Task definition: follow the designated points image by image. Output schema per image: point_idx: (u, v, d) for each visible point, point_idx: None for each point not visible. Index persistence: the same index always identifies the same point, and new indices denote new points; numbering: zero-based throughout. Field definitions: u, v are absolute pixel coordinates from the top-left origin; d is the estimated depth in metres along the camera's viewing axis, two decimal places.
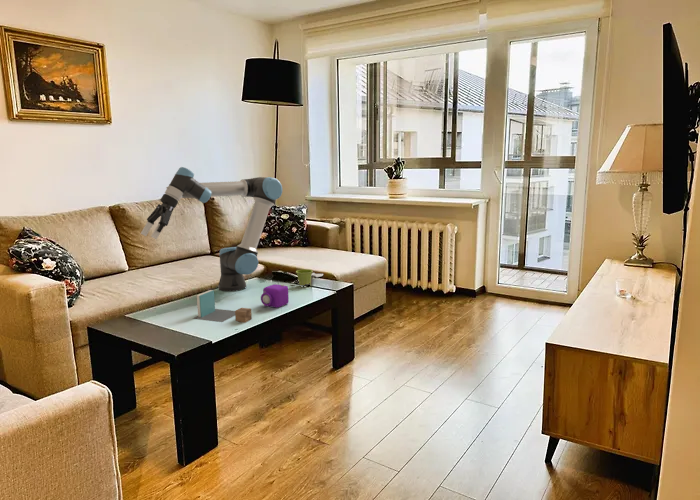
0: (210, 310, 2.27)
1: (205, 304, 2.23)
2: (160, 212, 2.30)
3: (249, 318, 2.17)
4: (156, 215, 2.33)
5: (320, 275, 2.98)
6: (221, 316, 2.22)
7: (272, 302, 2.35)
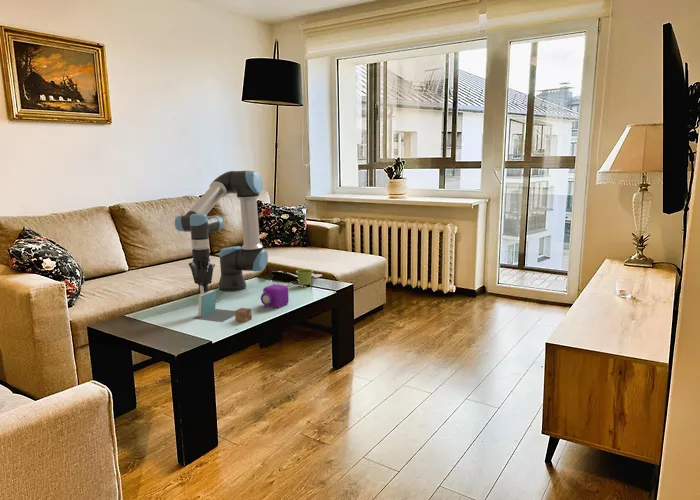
0: (211, 310, 2.27)
1: (206, 304, 2.23)
2: None
3: (249, 318, 2.17)
4: (200, 272, 2.23)
5: (319, 276, 2.97)
6: (221, 316, 2.22)
7: (272, 302, 2.35)
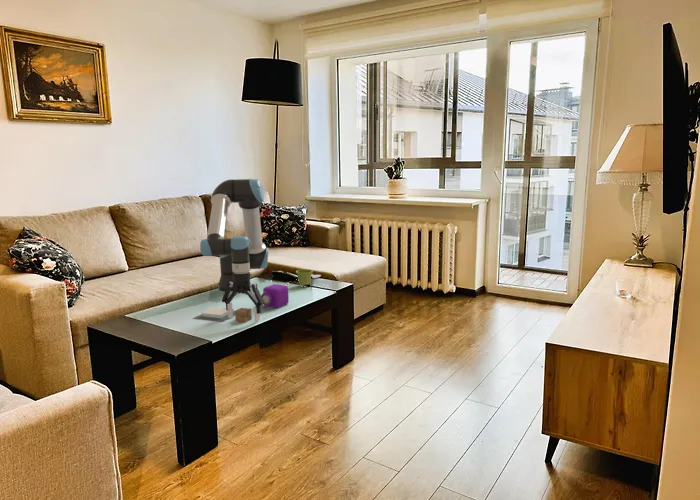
0: None
1: None
2: (242, 292, 2.14)
3: (249, 318, 2.17)
4: (234, 295, 2.16)
5: (317, 276, 2.96)
6: None
7: (272, 302, 2.35)
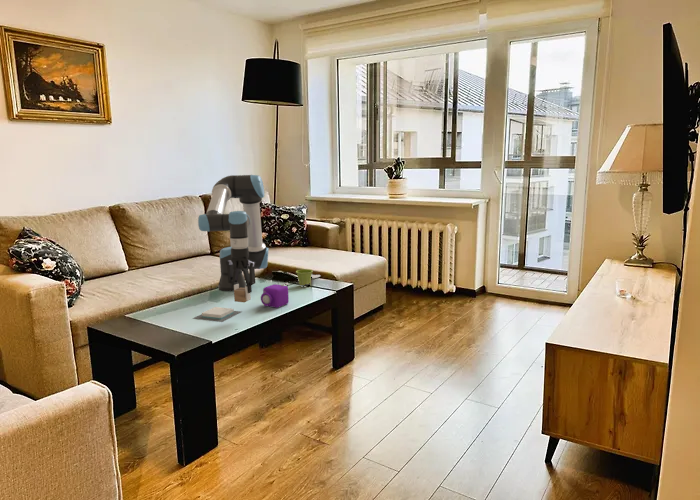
0: None
1: None
2: (240, 268, 2.12)
3: None
4: (236, 272, 2.14)
5: (317, 276, 2.95)
6: None
7: (272, 302, 2.35)
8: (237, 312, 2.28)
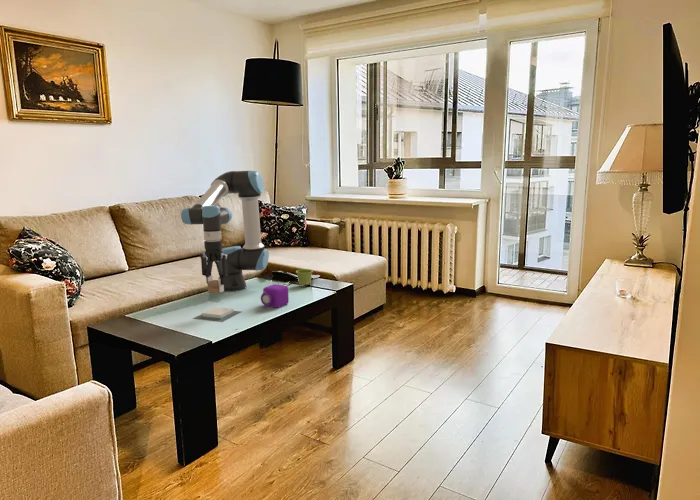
0: None
1: None
2: (213, 260, 2.19)
3: None
4: (210, 265, 2.20)
5: (316, 276, 2.95)
6: None
7: (272, 302, 2.35)
8: (237, 312, 2.28)
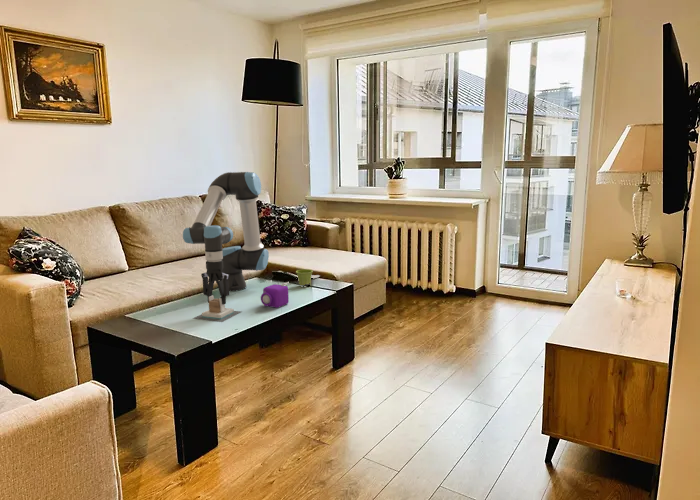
0: None
1: None
2: (215, 280, 2.20)
3: None
4: (211, 284, 2.22)
5: (316, 276, 2.95)
6: None
7: (272, 302, 2.35)
8: (237, 312, 2.28)
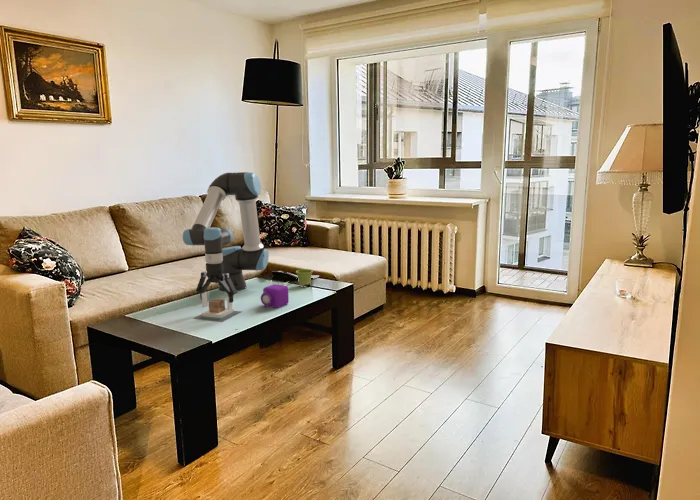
0: None
1: None
2: (215, 282, 2.20)
3: (222, 308, 2.23)
4: (208, 284, 2.23)
5: (315, 277, 2.94)
6: None
7: (272, 302, 2.35)
8: (237, 312, 2.28)
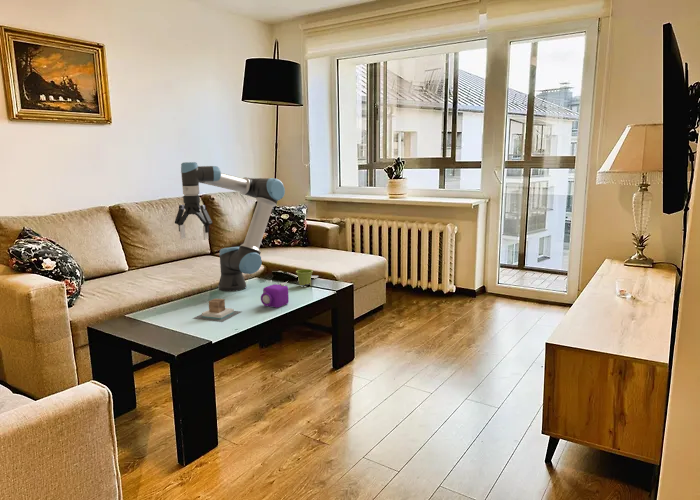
0: None
1: None
2: (192, 213, 2.36)
3: (222, 308, 2.23)
4: (185, 216, 2.38)
5: (314, 277, 2.94)
6: None
7: (272, 302, 2.35)
8: (237, 312, 2.28)
